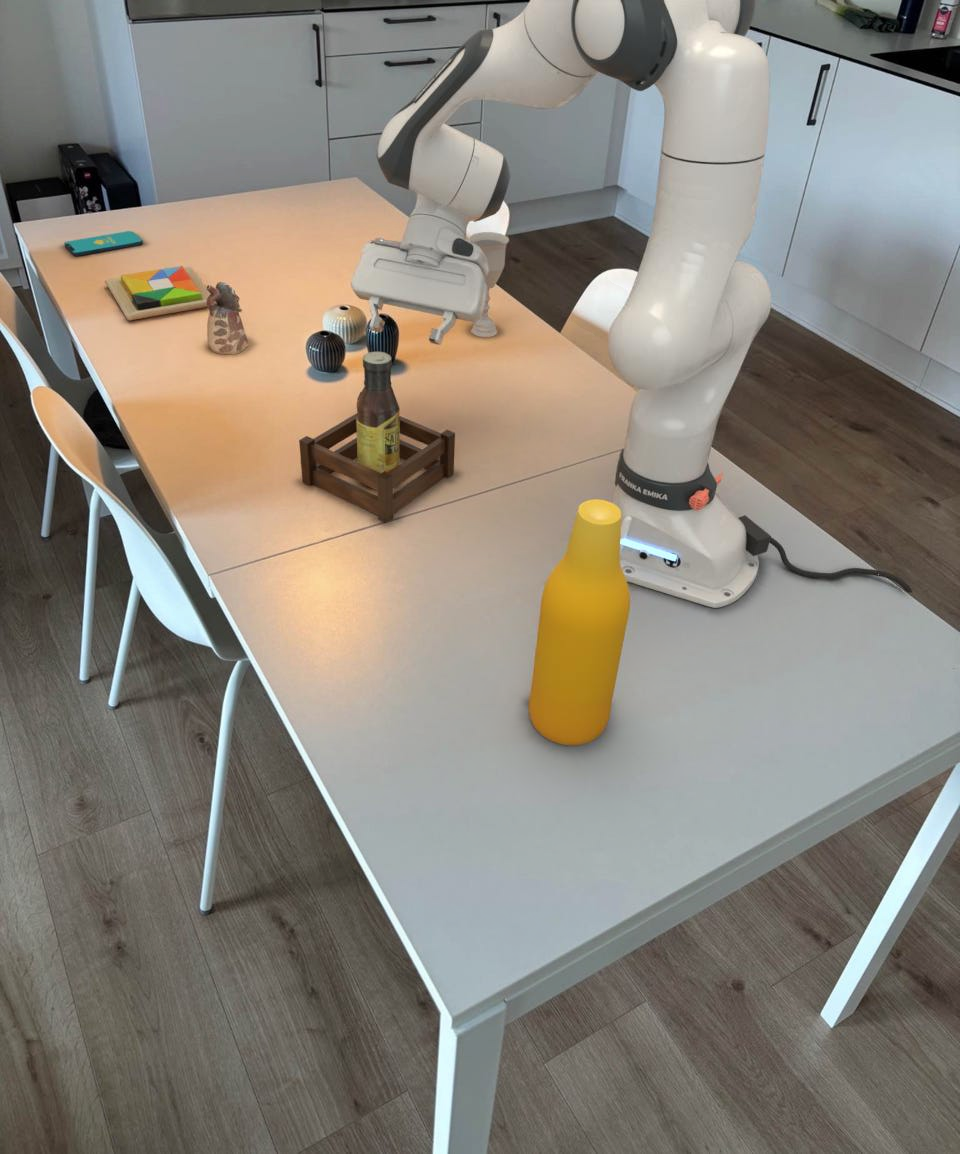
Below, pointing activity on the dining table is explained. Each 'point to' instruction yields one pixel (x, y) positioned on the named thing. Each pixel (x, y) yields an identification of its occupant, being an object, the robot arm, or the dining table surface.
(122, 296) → the wooden puzzle
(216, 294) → the figurine
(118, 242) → the smartphone
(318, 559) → the dining table surface
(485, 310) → the chalice
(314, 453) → the crate
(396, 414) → the sauce bottle
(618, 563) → the beer bottle
